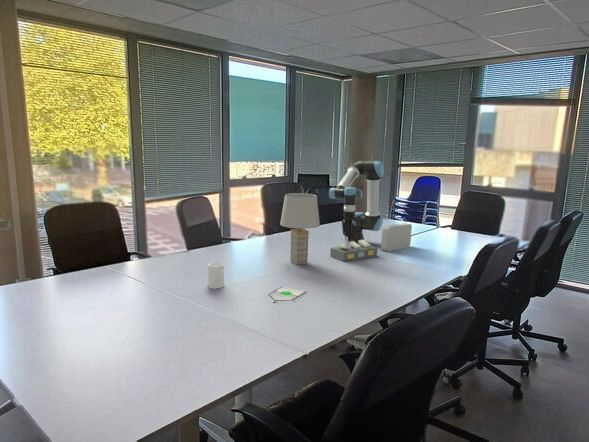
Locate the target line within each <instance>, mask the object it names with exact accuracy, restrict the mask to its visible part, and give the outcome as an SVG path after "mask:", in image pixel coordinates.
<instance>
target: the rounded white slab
mask: <svg viewBox="0 0 589 442" xmlns="http://www.w3.org/2000/svg"><path fill="white" fill-rule="evenodd" d="M412 229H413V228H412V224H411V223H406V222H403V223H397V224H391V225H385V226H383V227H382V232H381V242H380V243H381V244H380V245H381V246H380V248H381V250H382V251H385V252H388V253H389V252H393V251H397V250H398V251H399V250H402V248H403V249H406V248H409V247H410V246H411V243H412V242H411V241H412Z"/></svg>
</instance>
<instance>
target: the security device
mask: <svg viewBox="0 0 589 442" xmlns="http://www.w3.org/2000/svg"><path fill="white" fill-rule="evenodd" d="M306 293H307V294H308V292H307V291H305V290H303V289H302V290H301V289H298V288H297V289H296V288H292V287H288V286H284V285H283V286H280V287H279V288H277V289H276V290H273V291H272V292H270V293H268V294H266V295H267V296H268V297H269V298H271V299H272V300H273V301H274V302H278V301H280V302H281V301H283V302H284V301H294V300H296V299H298V298H299V297H301V296H303V295H304V294H306ZM307 294H306V295H307ZM304 296H305V295H304ZM304 296H303V297H304ZM301 298H302V297H301ZM298 300H299V299H298Z"/></svg>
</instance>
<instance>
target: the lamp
mask: <svg viewBox="0 0 589 442" xmlns="http://www.w3.org/2000/svg"><path fill="white" fill-rule="evenodd" d="M318 206H319V205H318V197H317V195H316V194H312V193H300V192H299V193H297V192H296V193H295V192H294V193H286V194H285V195H284V200H283V207H282V211H281V217H280V224H279V225H280V226H281V227H284V228H290V256H289V257H290V258H289V259H290V260H289V261H290V262H291V263H293V264H295V265H305V264H308V260H309V259H308V258H309V233H310V231H309V230H307V229H315V228H318V227H320V226H321V225H320V224H321V223H320V222H321V221H320V215H319V214H320V213H319V207H318Z"/></svg>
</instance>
